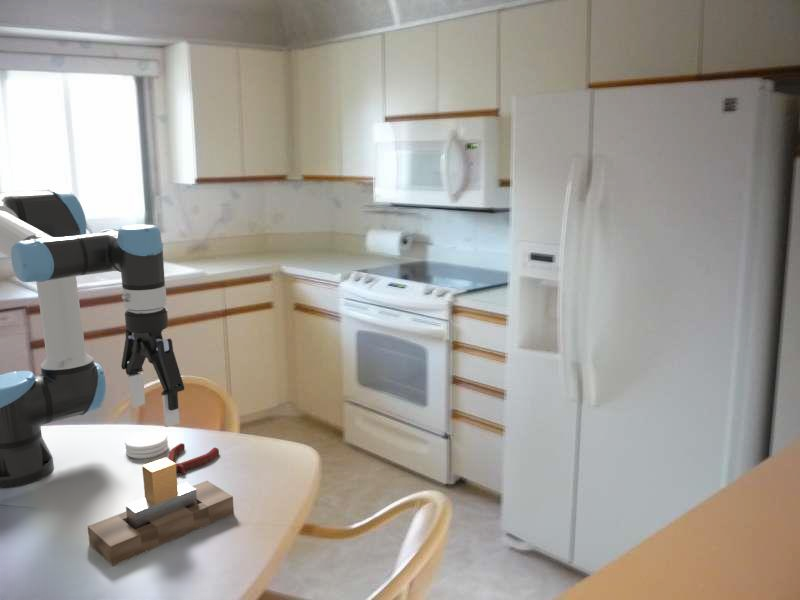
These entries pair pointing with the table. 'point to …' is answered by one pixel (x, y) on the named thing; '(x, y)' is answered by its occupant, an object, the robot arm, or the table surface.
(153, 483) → the clip
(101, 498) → the table surface
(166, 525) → the slotted wooden block
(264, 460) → the table surface
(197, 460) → the pliers
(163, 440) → the white round stack
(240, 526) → the table surface
